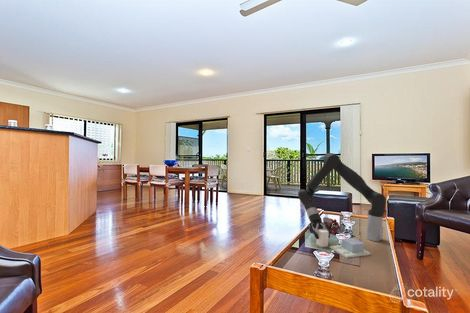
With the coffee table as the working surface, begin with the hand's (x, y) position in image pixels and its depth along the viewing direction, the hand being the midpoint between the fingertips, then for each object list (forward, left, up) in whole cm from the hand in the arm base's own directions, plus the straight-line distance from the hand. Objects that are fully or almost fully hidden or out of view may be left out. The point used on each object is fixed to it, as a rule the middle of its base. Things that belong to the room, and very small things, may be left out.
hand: (323, 238), depth 159 cm
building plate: (-11, +11, -5) cm, 16 cm away
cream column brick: (0, -1, -5) cm, 5 cm away
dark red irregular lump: (-23, -20, -5) cm, 31 cm away
